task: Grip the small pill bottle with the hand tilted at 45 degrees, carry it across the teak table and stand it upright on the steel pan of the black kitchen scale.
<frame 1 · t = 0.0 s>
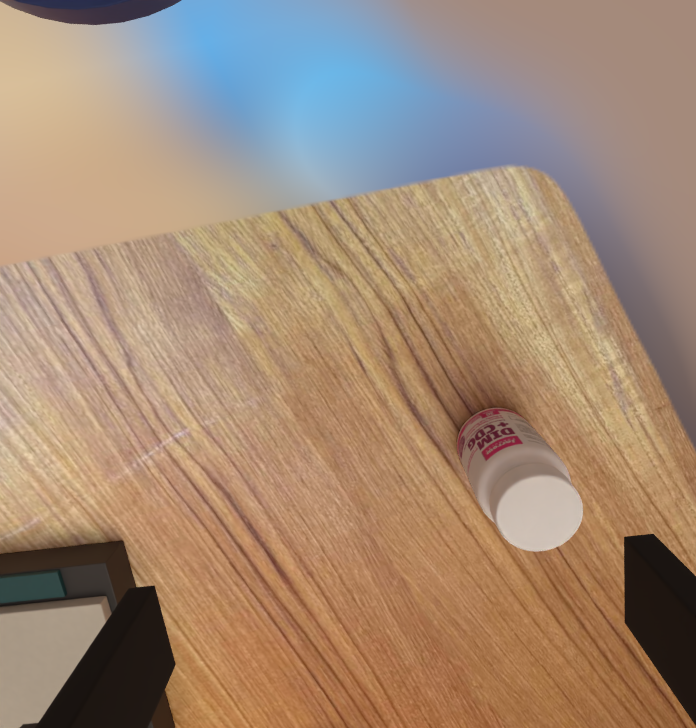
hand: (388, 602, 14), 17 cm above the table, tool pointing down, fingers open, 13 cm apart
scale: (56, 648, 36), on the table
pill bottle: (492, 440, 31), on the table
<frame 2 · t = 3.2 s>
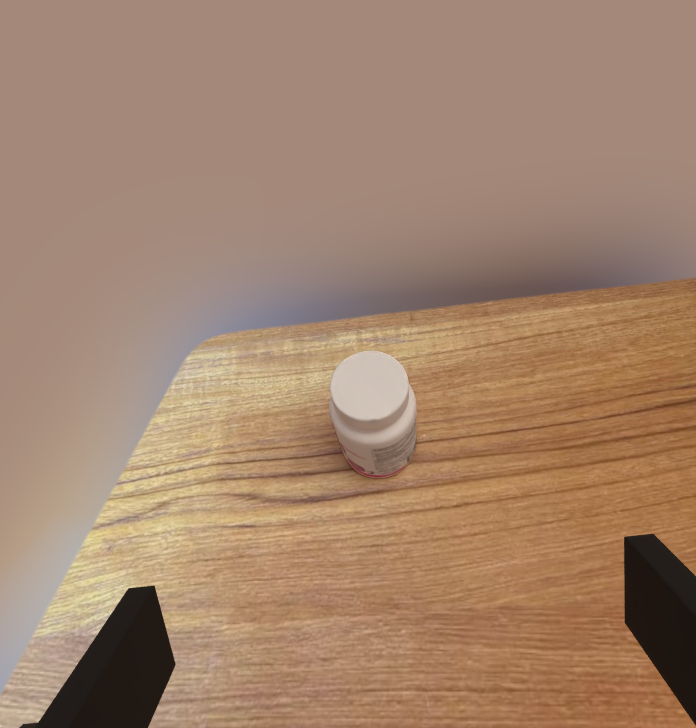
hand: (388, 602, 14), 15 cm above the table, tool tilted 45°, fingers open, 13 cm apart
pill bottle: (378, 445, 32), on the table
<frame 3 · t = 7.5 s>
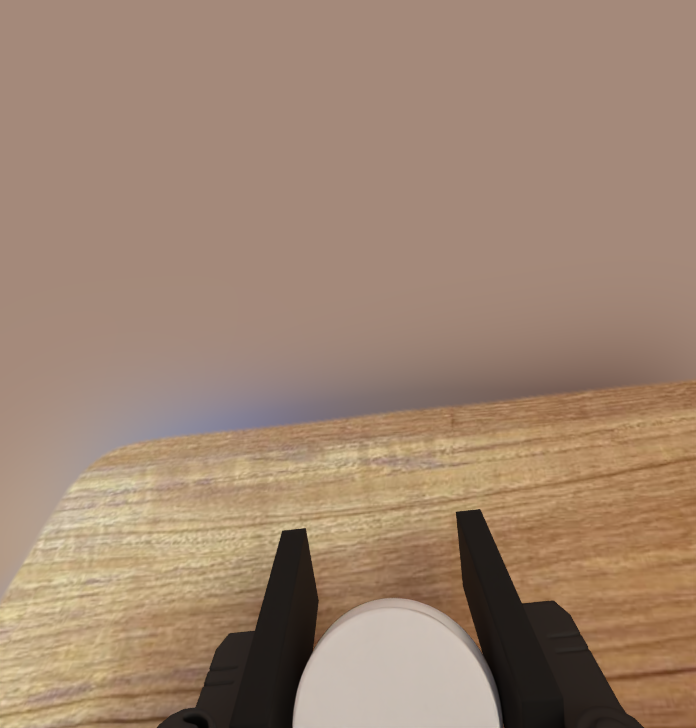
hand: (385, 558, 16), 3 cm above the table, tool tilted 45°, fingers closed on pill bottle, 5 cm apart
pill bottle: (403, 692, 17), on the table, touching gripper
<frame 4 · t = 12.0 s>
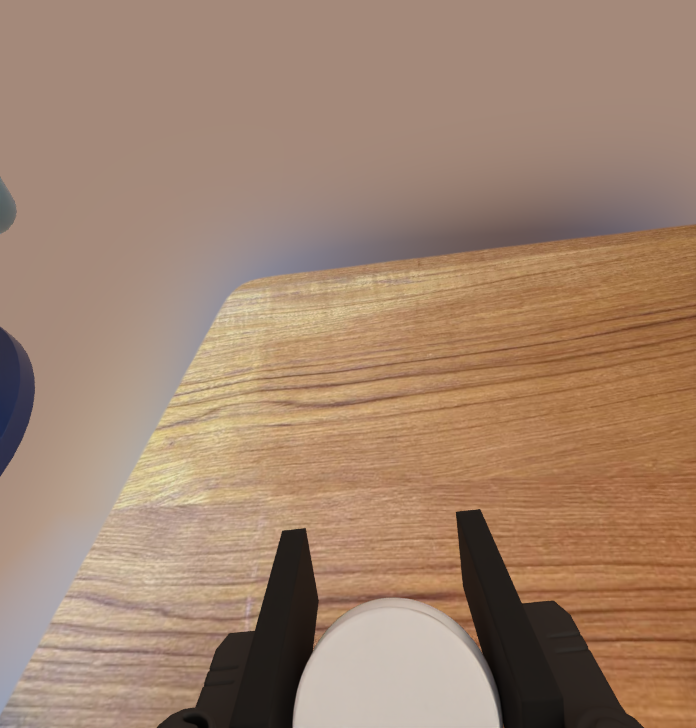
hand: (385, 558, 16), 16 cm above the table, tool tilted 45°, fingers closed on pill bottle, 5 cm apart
pill bottle: (403, 692, 17), point 13 cm above the table, touching gripper
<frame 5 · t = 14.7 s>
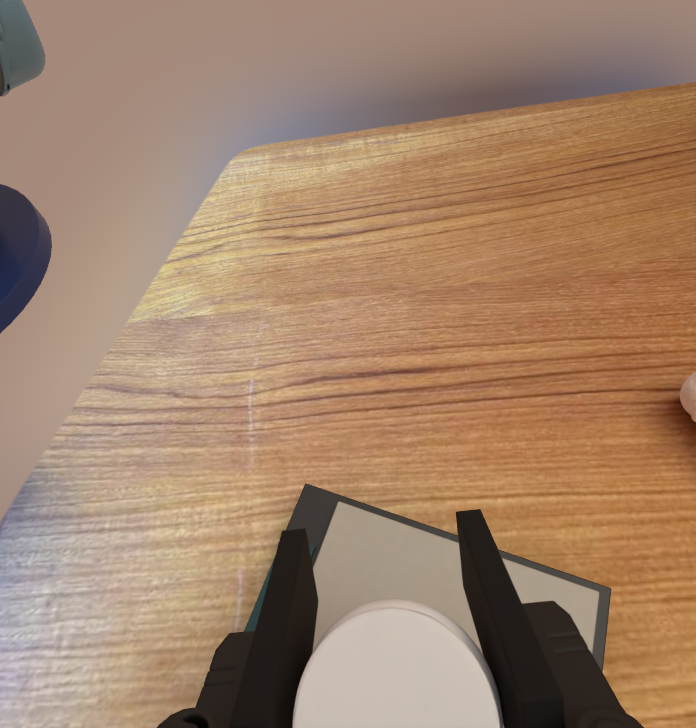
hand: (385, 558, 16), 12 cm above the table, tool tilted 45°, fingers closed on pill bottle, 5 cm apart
scale: (406, 679, 24), on the table
pill bottle: (403, 693, 17), point 9 cm above the table, touching gripper
when the fingers open (6 cm above the table, at t = 16.7 s): pill bottle stays where it is, resting on scale.
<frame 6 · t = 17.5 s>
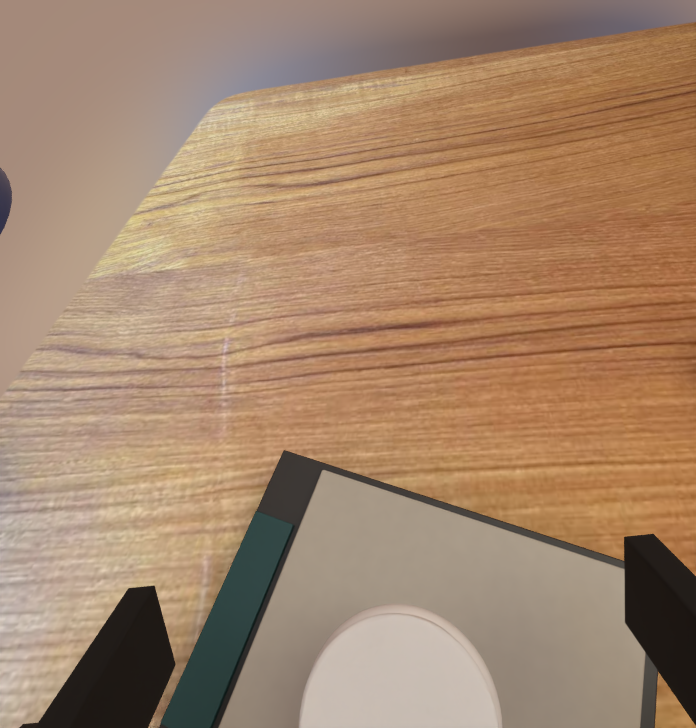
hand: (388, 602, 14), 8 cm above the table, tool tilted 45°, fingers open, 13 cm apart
scale: (405, 688, 20), on the table
pill bottle: (404, 695, 17), point 3 cm above the table, touching scale
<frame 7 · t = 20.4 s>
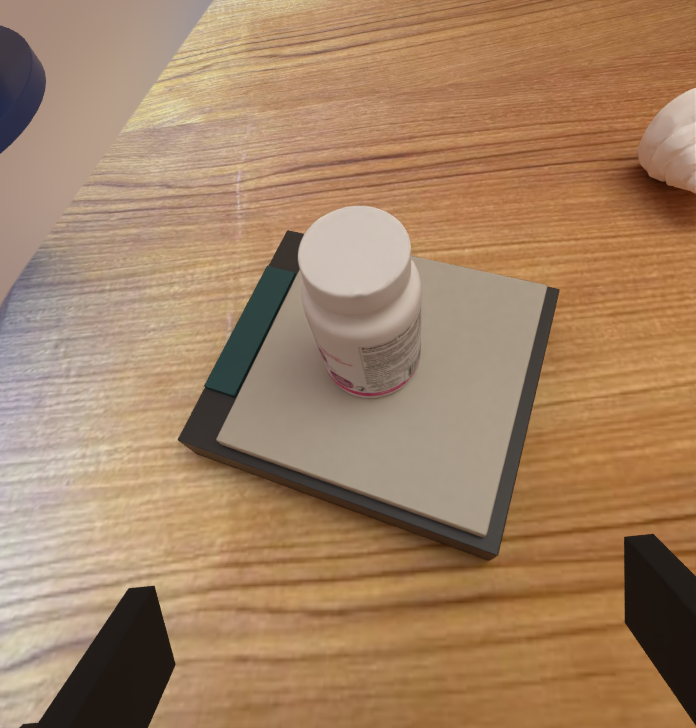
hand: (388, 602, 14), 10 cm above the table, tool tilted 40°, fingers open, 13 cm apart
scale: (376, 381, 28), on the table
garlic bulb: (681, 193, 31), on the table
pill bottle: (372, 358, 25), point 3 cm above the table, touching scale
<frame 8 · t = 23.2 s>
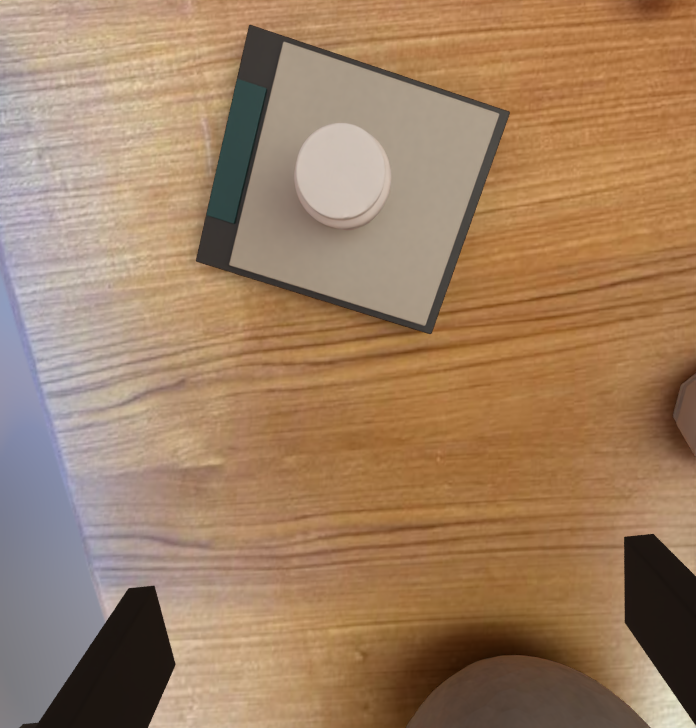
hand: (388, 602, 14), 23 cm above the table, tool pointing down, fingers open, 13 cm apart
scale: (347, 193, 33), on the table
bowl: (501, 702, 43), on the table
pill bottle: (346, 190, 30), point 3 cm above the table, touching scale
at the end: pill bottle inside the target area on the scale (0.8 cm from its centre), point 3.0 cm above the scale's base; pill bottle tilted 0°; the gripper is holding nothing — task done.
